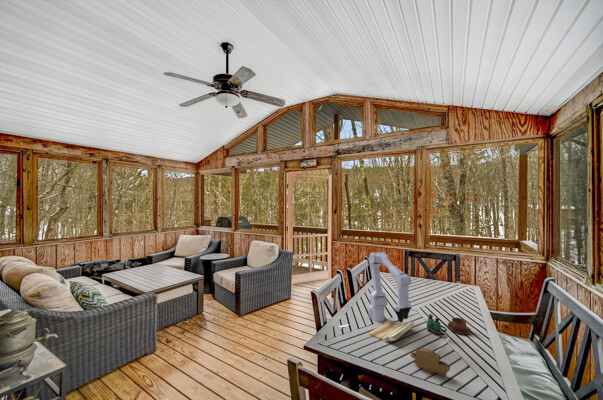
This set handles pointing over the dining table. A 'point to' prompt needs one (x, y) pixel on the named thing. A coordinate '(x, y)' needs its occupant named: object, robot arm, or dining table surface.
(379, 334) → the board
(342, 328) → the cell phone
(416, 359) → the wooden carving
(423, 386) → the dining table surface
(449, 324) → the brown cowboy hat
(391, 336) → the maple plank
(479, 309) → the dining table surface
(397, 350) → the dining table surface
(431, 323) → the binoculars
